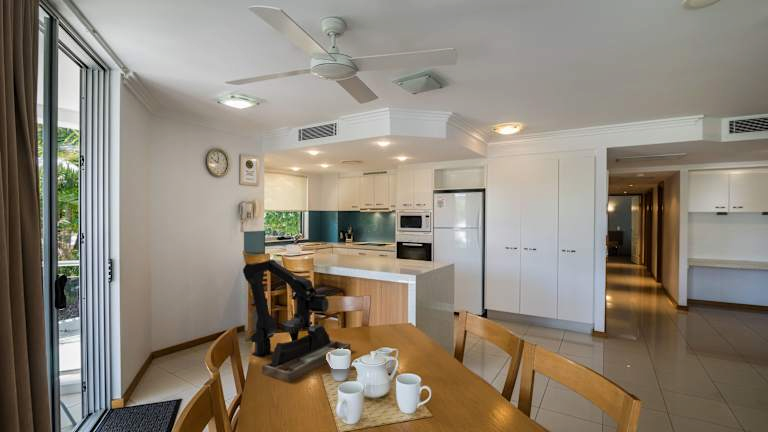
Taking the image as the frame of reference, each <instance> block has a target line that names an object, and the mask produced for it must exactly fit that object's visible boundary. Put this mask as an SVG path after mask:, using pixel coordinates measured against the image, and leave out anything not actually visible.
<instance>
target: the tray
mask: <svg viewBox="0 0 768 432" xmlns="http://www.w3.org/2000/svg"><path fill="white" fill-rule="evenodd" d="M329 339H330V338H329ZM324 347H330V348H335V350H337V348H339V349H341V348H343V349H349V350H350V351H351V343H349V342H348V343H347V342H343V341H339V340H334V339H330V343H329V344H327V345H324V346H322V347H320V348H318V349H315V350H313V351H311V352H309V353H306V354H304V355H302V356H300V357H298V358H295V359H293V360H291V361H289V362H286V363H284V364H282V365H280V366H277V367H275V368H274V367H271V362H272V360H271V361H269V362H267V363H265V364H262V365H261V369H262V370H261V374H263V375H265V376H269V377H271V378H273V379H276V380H280V381H283V382H286V383H290V382H293V381H294V380H296V379H298V378H300V377H302V376H304V375H306V374H308V373H310V372H312V371H314V370H316V369H318V368H320V367H321V366H324V365H325V364H328V363H327V360H326V355H325V356H322V357H320V358H318V359H316V360H314V361H312V362H310V363H308V364H306V365H304V366H302V367H300V368H298V369H296V370H293V371H291V372H287V370H289V367H290V366H292V365H294V364H297V363H299V362H300V358H303V357H305V356H307V355H309V354H311V353H313V352H316V351H318V350H320V349H322V348H324Z"/></svg>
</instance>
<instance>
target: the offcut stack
mask: <svg viewBox="0 0 768 432" xmlns="http://www.w3.org/2000/svg"><path fill="white" fill-rule="evenodd" d="M332 350H336V348H330V347H324V348H322V349H320V350H318V351H316V352H313V353H311V354H309V355H307V356H305V357H303V358H300V362H299V363H297V364H294V365H292V366H290V367H289V370H287V372H291V371H293V370H296V369H298V368H300V367H302V366H304V365H306V364H308V363H310V362H312V361H314V360H316V359H318V358H320V357H322V356H325V355H326V354H327V353H328V352H330V351H332Z"/></svg>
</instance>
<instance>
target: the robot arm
mask: <svg viewBox="0 0 768 432" xmlns="http://www.w3.org/2000/svg"><path fill="white" fill-rule="evenodd" d="M266 271H268V272H270V273H271V274H273V275H274V276H276V277H277V278H278V279H280V280H282V281H283V282H284V283H285V284H287V285H288V286H289V287H290V290H291V291H293V292H294V293H295V294H294V295H293V296H292V297H291V300H296V301H295V303H296V305H295V312H294V313H293V318H291V319H289V320H286V321H284V322H283V323H282V330H284V331H285V332H286V333H288V334H289V337H290V339H291V341H293V340H296V339H299V338H298V337H299V334H300V333H299V331H300V330H304V331H307V336H308V337H309V342H310V350H313V347H314V345H315V343H316V341H317V339H318V337H319V335H321V334H322V333H324V328H325V326H323V325H322V324H321V325H320V324H314V325H313V321H311V316H312V315H313V312H314V313H315V312H316V313H326V312H328V310H329V309H328V308H329V299H328V298H327V295H326V294H320V295H319V294H318V292H317V291H316V289H315V287H314V286H313V282H312V280H310V279H309V278H306V277H304V276H299V275H297V274H295V273H293V272H292V271H290V270H288V269H287V268H285V266H282V265H281V264H279V262H278V263H277V262H276V260H275V259H268V260H267V259H266V260H265V261H262V262H251V263H247V264H245V266H244V267H243V269H242V273H243V275H244V278H245V280H246V282H247V283H248V284H249V285H250V288H251V293H252V298H253V303H254V307H255V311H256V315H257V319H256V322H255V330H256V331H255V332H254V333H253V334H252V335H251V336H250V340H251V342H252V343H254V352H252V353H251V355H252V356H255V357H258V358H263V357H266V356H268V355H271V354H273V353H274V350H273V351H272V350H271V349H272V346H271V345H272V344H271V339H272V338H273V337H274V334H276V331H277V329H278V323H277V318H276V316H271V314H270V311H269V307H268V302H267V297H266V294H265V288H264V284H263V283H264V282H263V280H264V278H265V277H264V276H265V272H266Z"/></svg>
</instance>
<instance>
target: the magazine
mask: <svg viewBox="0 0 768 432" xmlns="http://www.w3.org/2000/svg"><path fill="white" fill-rule="evenodd" d="M307 335H308V334H307ZM307 335H304V336H302V337H299V338H298V339H296V340H293V341H292V340H290V341H285V342H277V343H276V345H275V347H274V349H273V353H272V358H271V361H272V362H271V361H270V362H271V367H274V368H275V367H277V366H280V365H282V364H284V363H286V362H289V361H291V360H293V359H295V358H298V357H300V356H302V355H304V354H306V353H309V352H311V351H313V350H315V349H318V348H320V347H322V346H324V345H327V344H329V343H330V335H329V334H328V331H327V330H326V327H324V333H322V334H321V335H319V337H318V339H317V341H316V343H315V345H314V347H313V350H310V342H309V337H308V336H307Z"/></svg>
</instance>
